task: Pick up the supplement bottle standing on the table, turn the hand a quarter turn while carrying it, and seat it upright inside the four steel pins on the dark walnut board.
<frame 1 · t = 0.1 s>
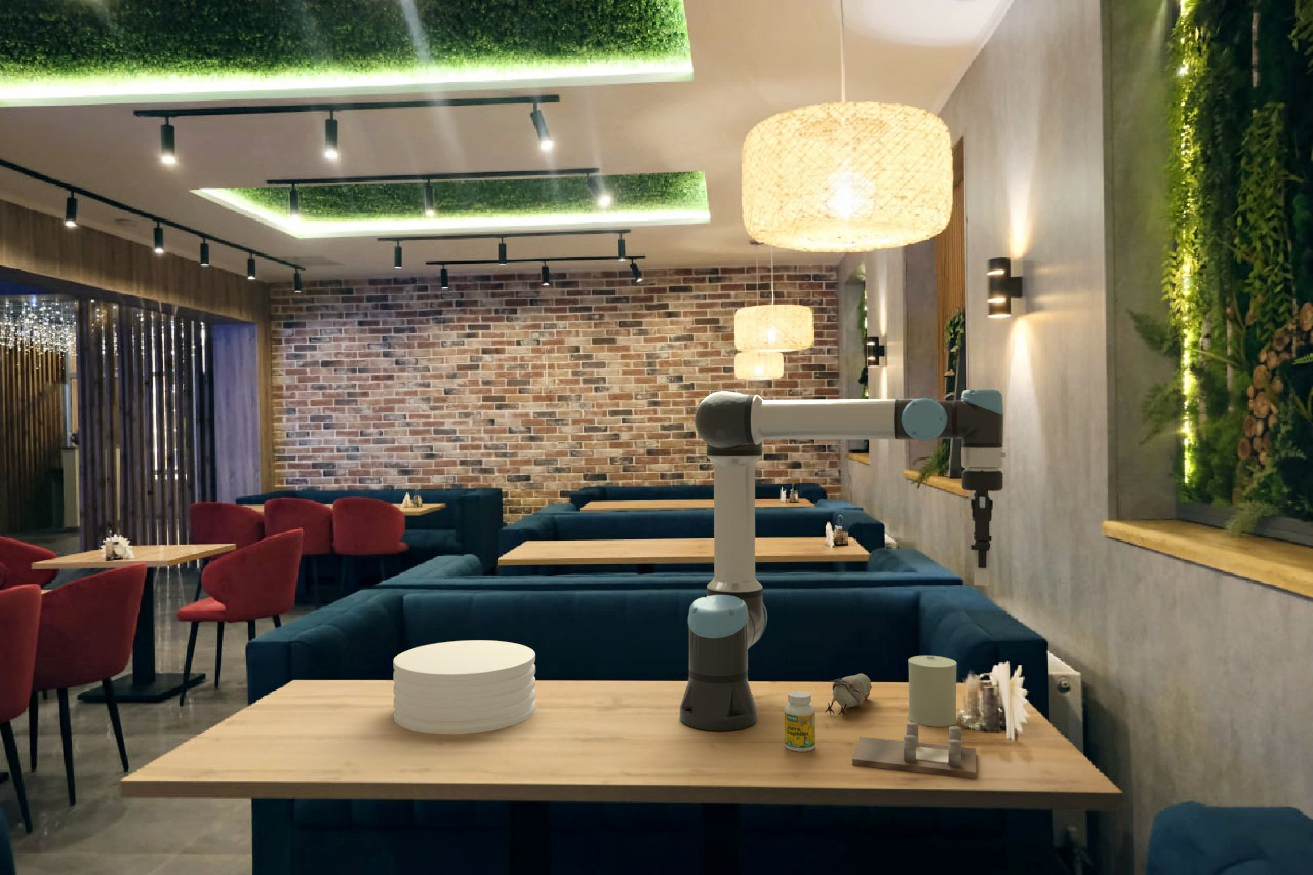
hand: (981, 579, 181), 28 cm above the table, fingers open, 13 cm apart
plate stack: (465, 713, 190), on the table
can: (932, 720, 184), on the table
pin nest: (914, 759, 162), on the table
decorative bird: (851, 709, 192), on the table
supplement bottle: (799, 748, 168), on the table
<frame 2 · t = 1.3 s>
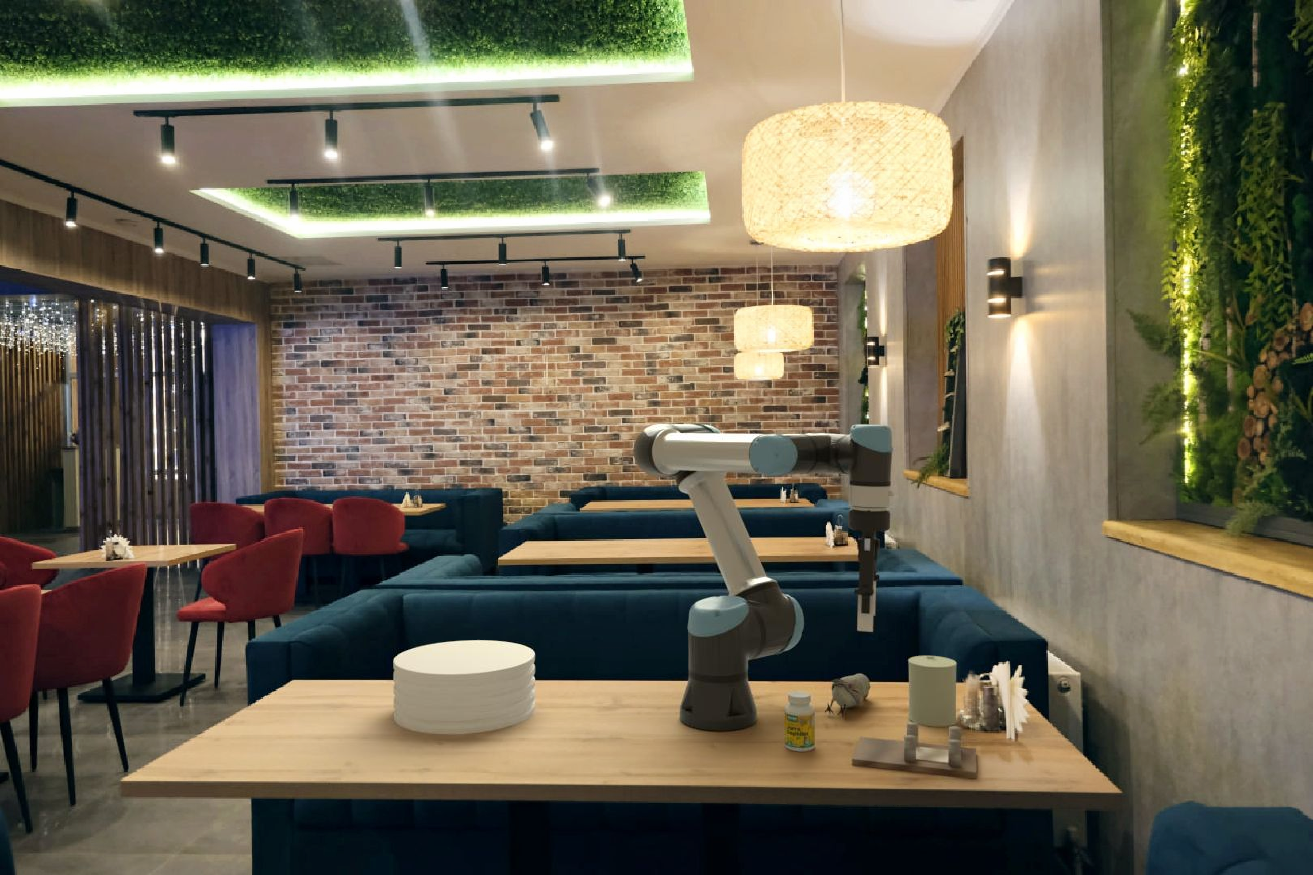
hand: (866, 622, 174), 21 cm above the table, fingers open, 13 cm apart
nothing on the table moved.
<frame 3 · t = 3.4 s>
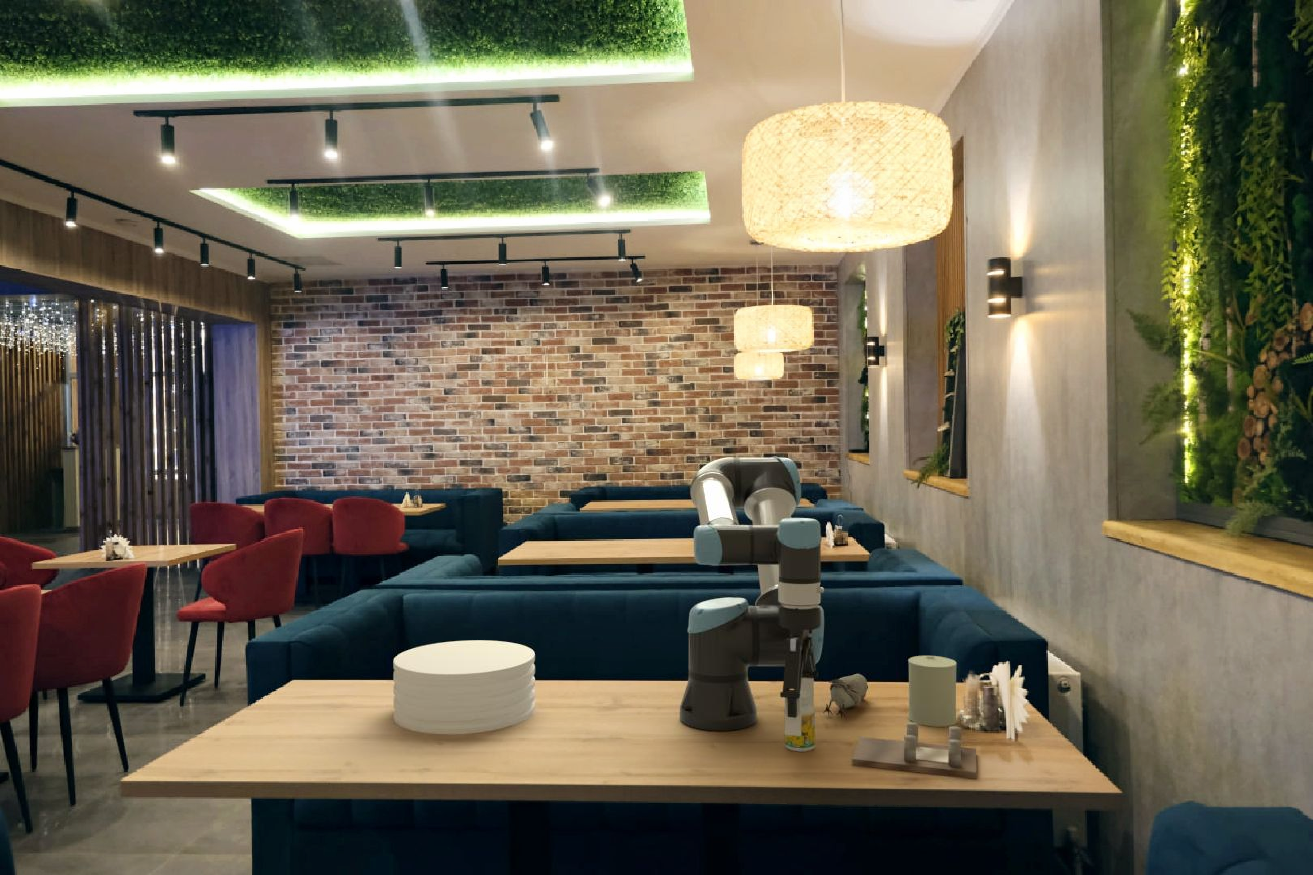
hand: (799, 723, 168), 4 cm above the table, fingers open, 13 cm apart
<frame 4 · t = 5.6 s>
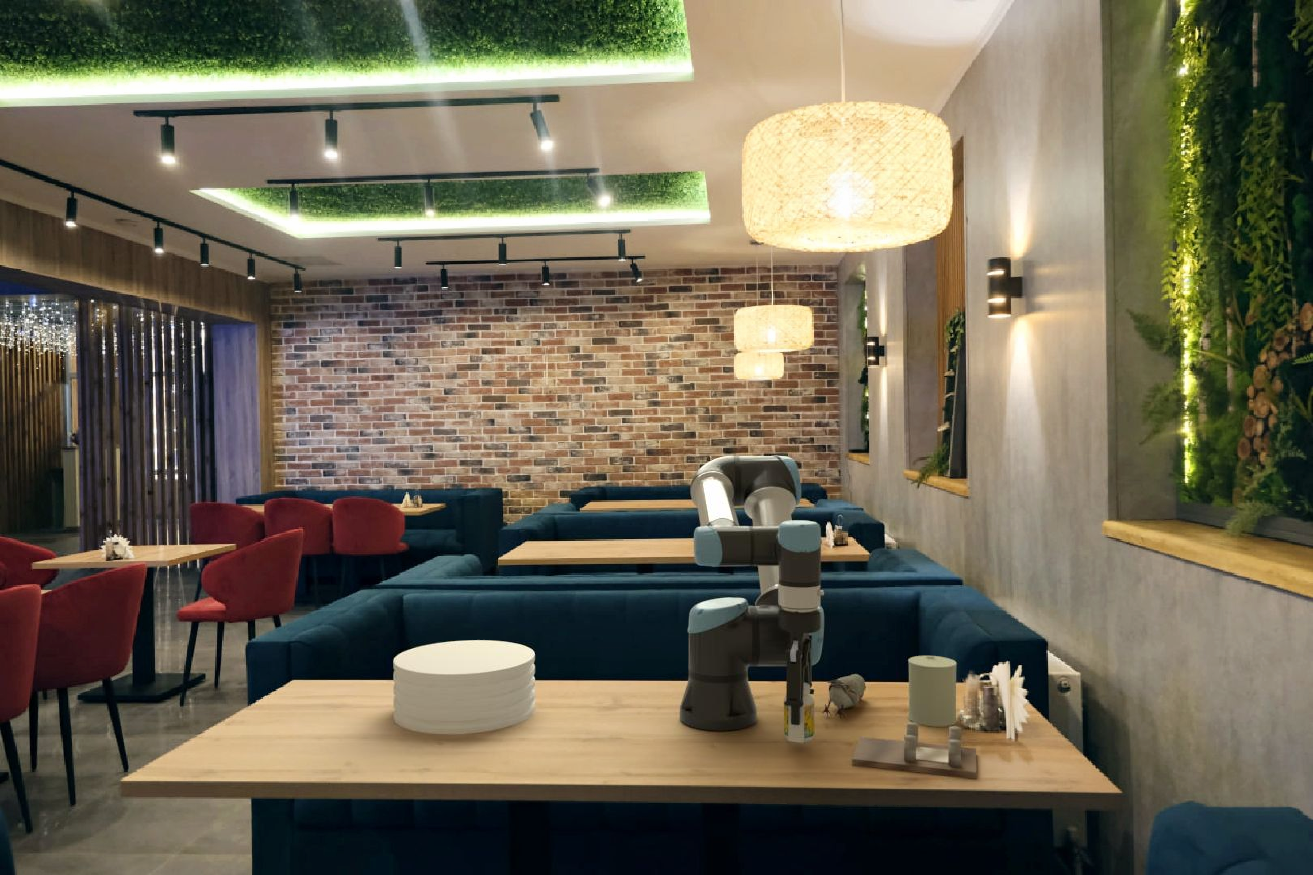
hand: (799, 735, 169), 2 cm above the table, fingers closed on supplement bottle, 5 cm apart
supplement bottle: (799, 738, 169), point 1 cm above the table, touching gripper
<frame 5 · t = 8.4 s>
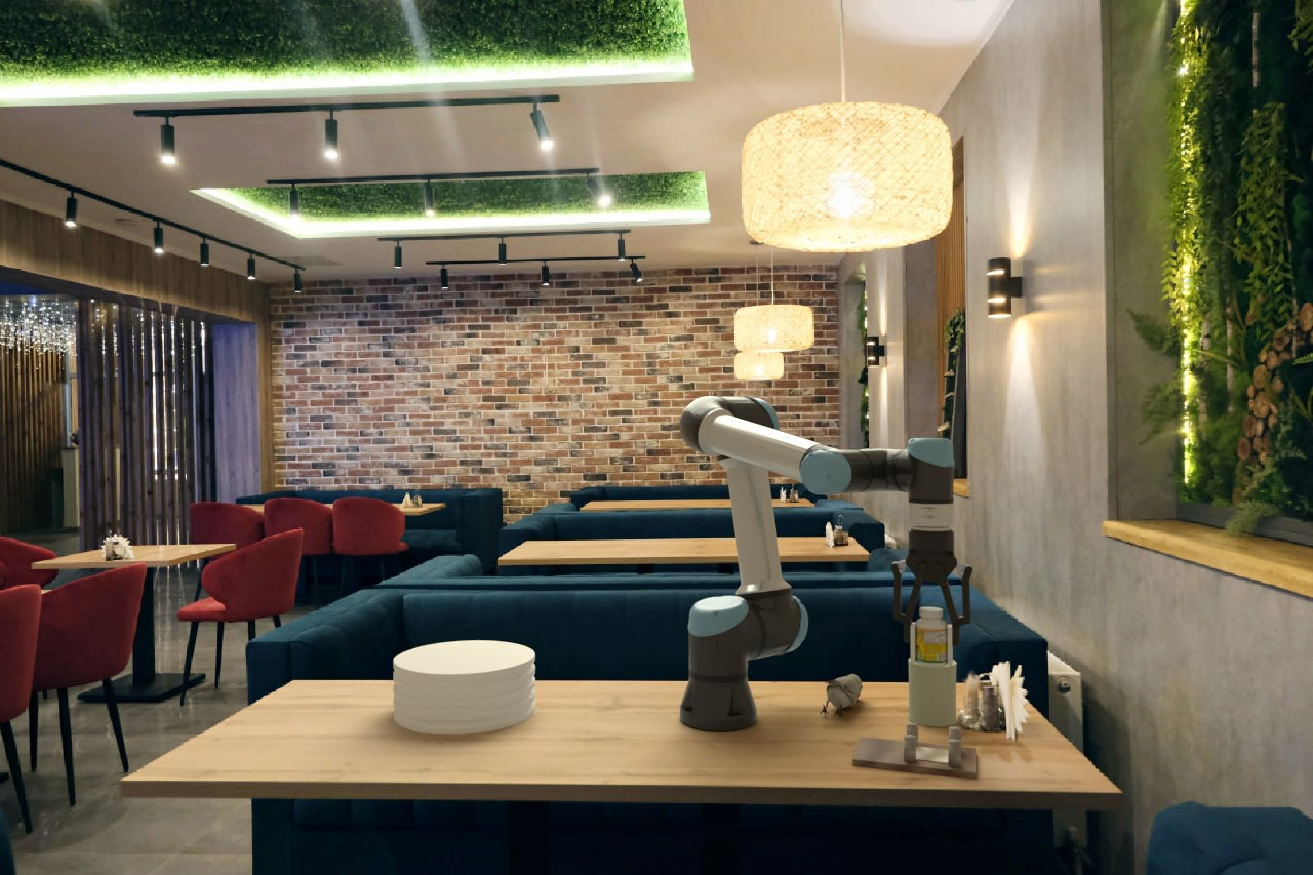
hand: (931, 662, 161), 17 cm above the table, fingers closed on supplement bottle, 5 cm apart
supplement bottle: (931, 665, 161), point 17 cm above the table, touching gripper
when the fingers open (2 cm above the table, at t = 11.1 s): supplement bottle stays where it is, resting on pin nest.
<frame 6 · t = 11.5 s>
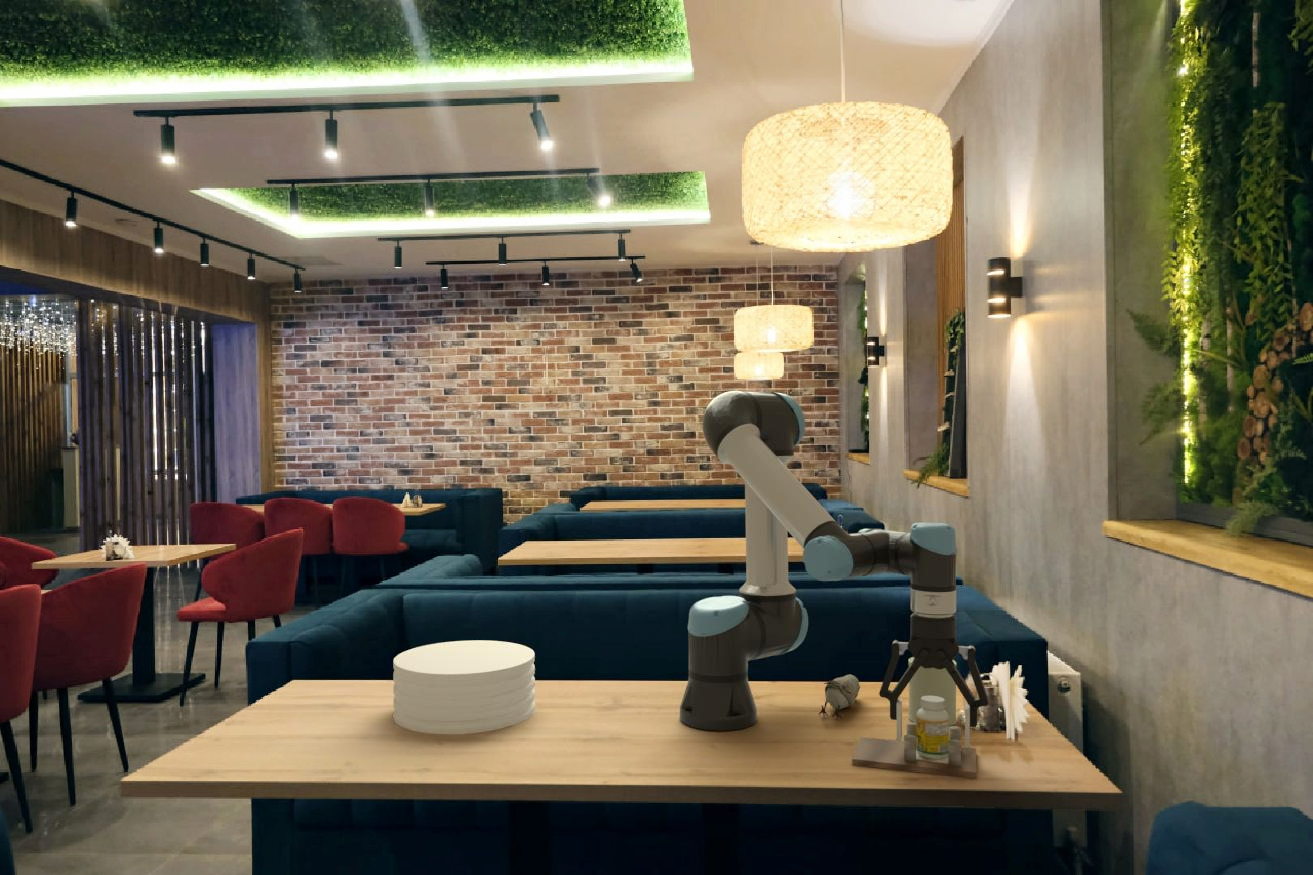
hand: (933, 741, 161), 3 cm above the table, fingers open, 10 cm apart
supplement bottle: (932, 755, 161), point 1 cm above the table, touching pin nest
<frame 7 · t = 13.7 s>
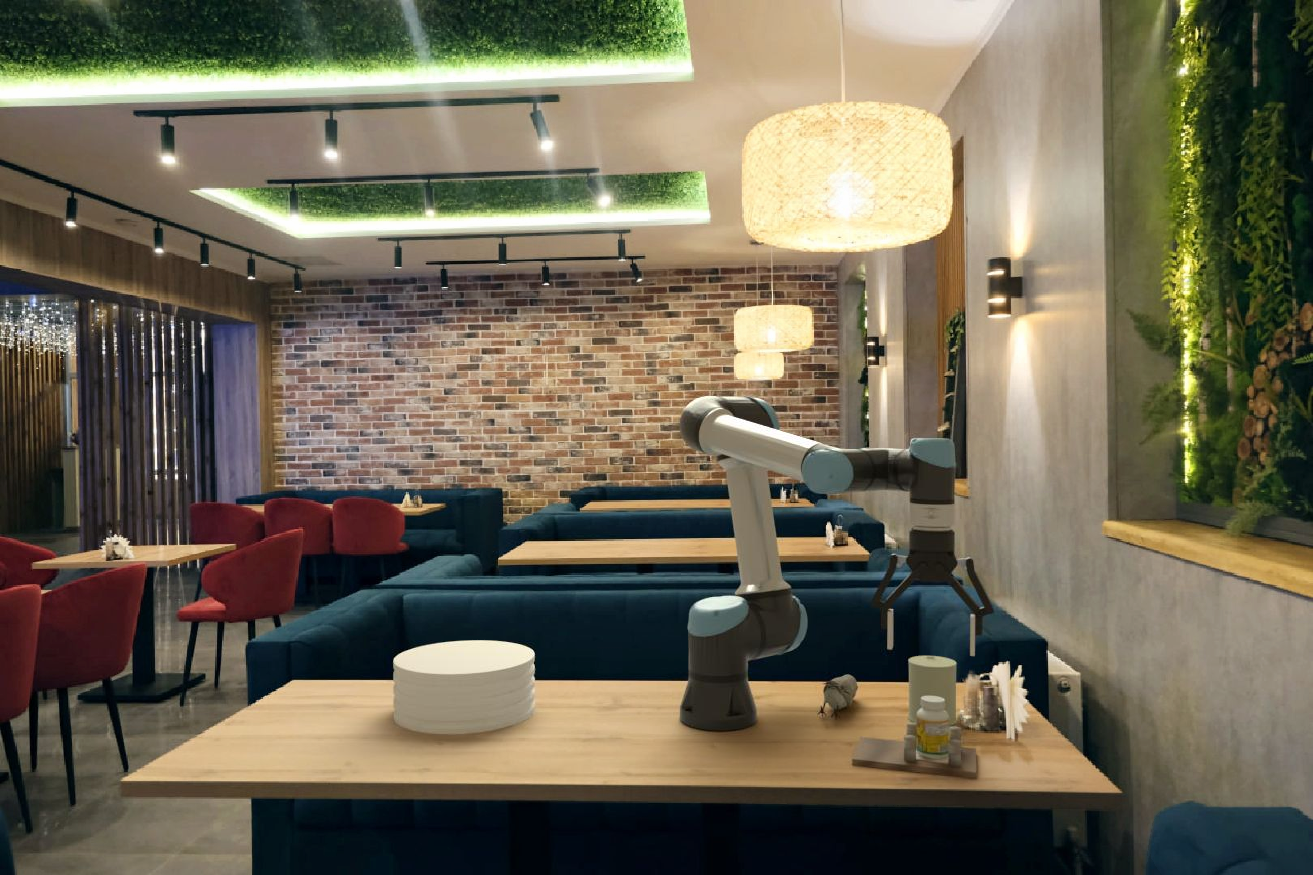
hand: (930, 651, 161), 19 cm above the table, fingers open, 13 cm apart
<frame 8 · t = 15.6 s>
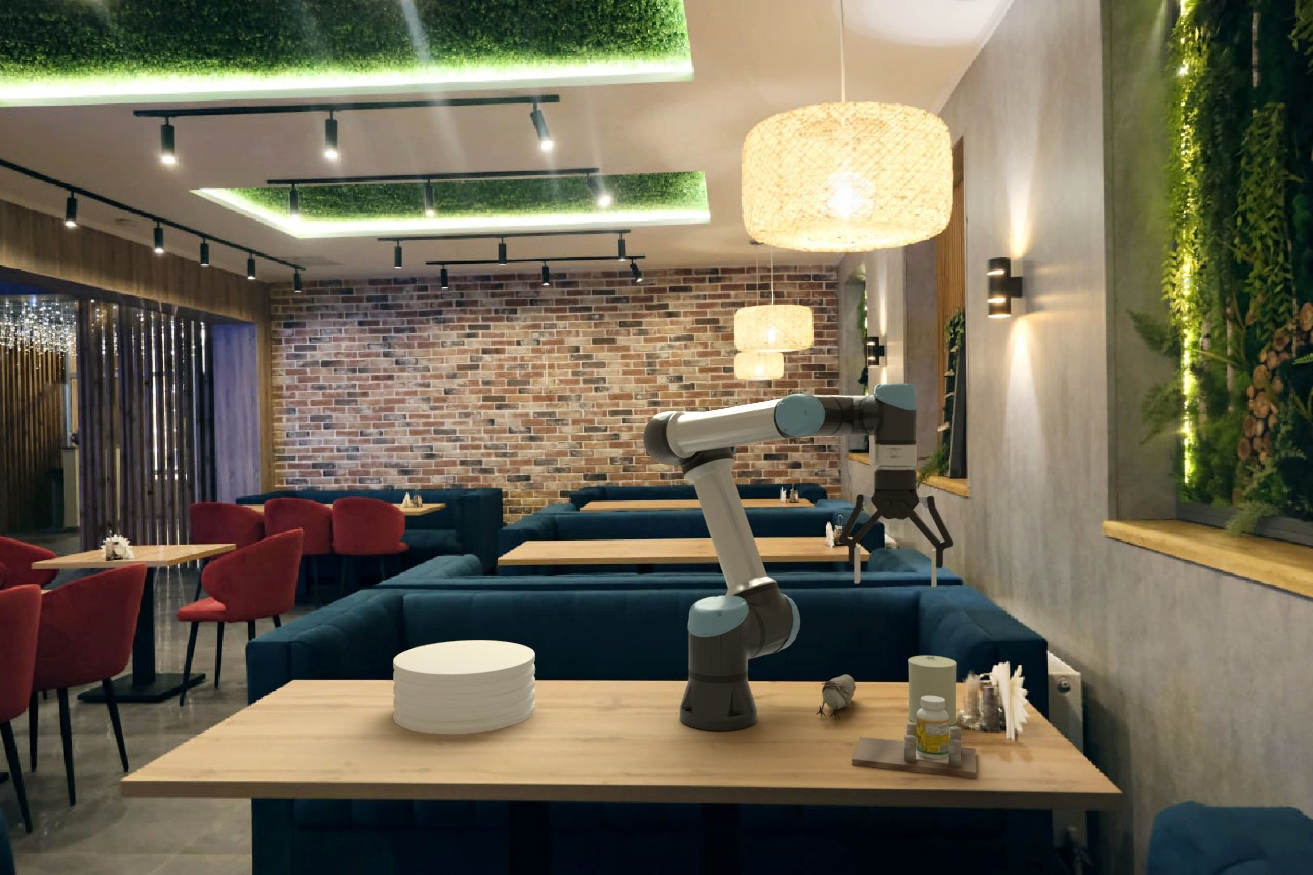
hand: (895, 584, 171), 29 cm above the table, fingers open, 13 cm apart
at the end: supplement bottle 0.0 cm from the target spot on the pin nest, point 1.0 cm above the pin nest's base; supplement bottle tilted 0°; the gripper is holding nothing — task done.
